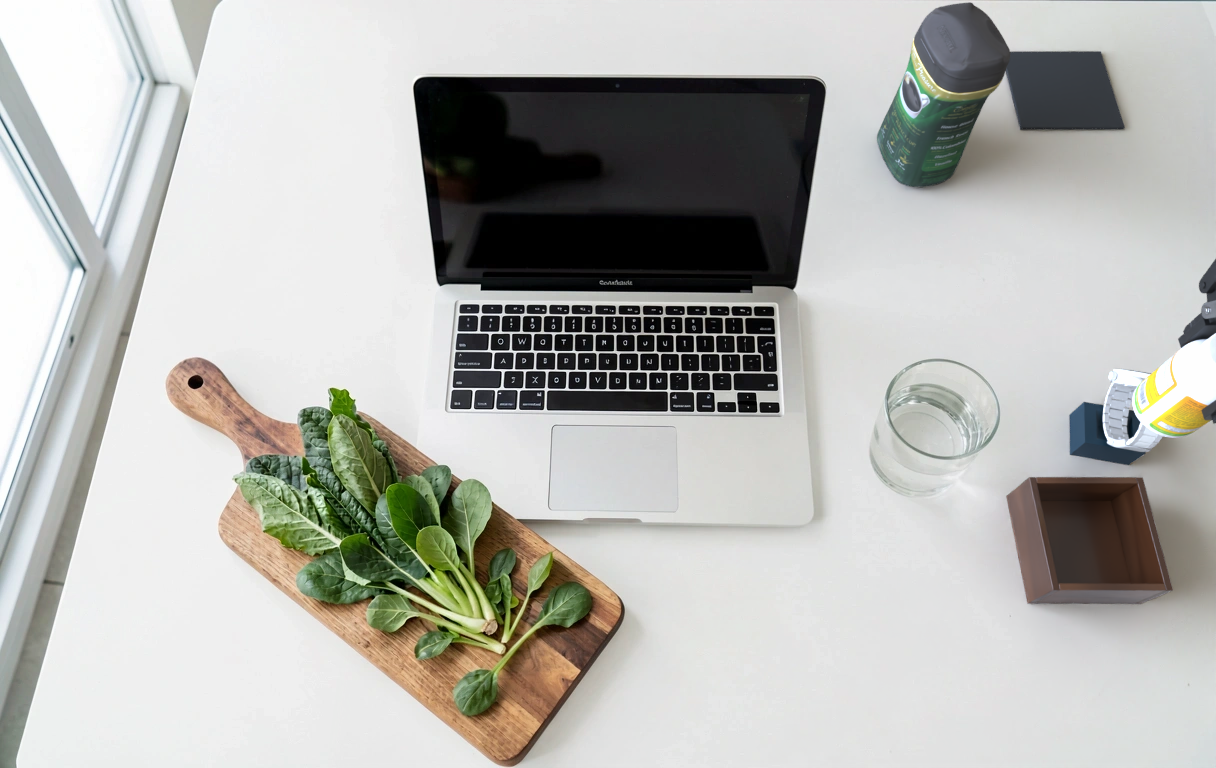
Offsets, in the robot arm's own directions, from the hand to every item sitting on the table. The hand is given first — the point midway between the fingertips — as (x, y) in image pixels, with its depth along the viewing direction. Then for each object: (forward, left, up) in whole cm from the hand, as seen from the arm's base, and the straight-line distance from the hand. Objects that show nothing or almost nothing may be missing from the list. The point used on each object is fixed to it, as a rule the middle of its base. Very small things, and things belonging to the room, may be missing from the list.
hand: (1203, 378), depth 68 cm
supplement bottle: (0, 0, -6) cm, 6 cm away
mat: (-9, -49, -21) cm, 54 cm away
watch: (-3, -4, -21) cm, 21 cm away
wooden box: (+2, +7, -21) cm, 22 cm away
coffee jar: (+10, -39, -21) cm, 45 cm away
